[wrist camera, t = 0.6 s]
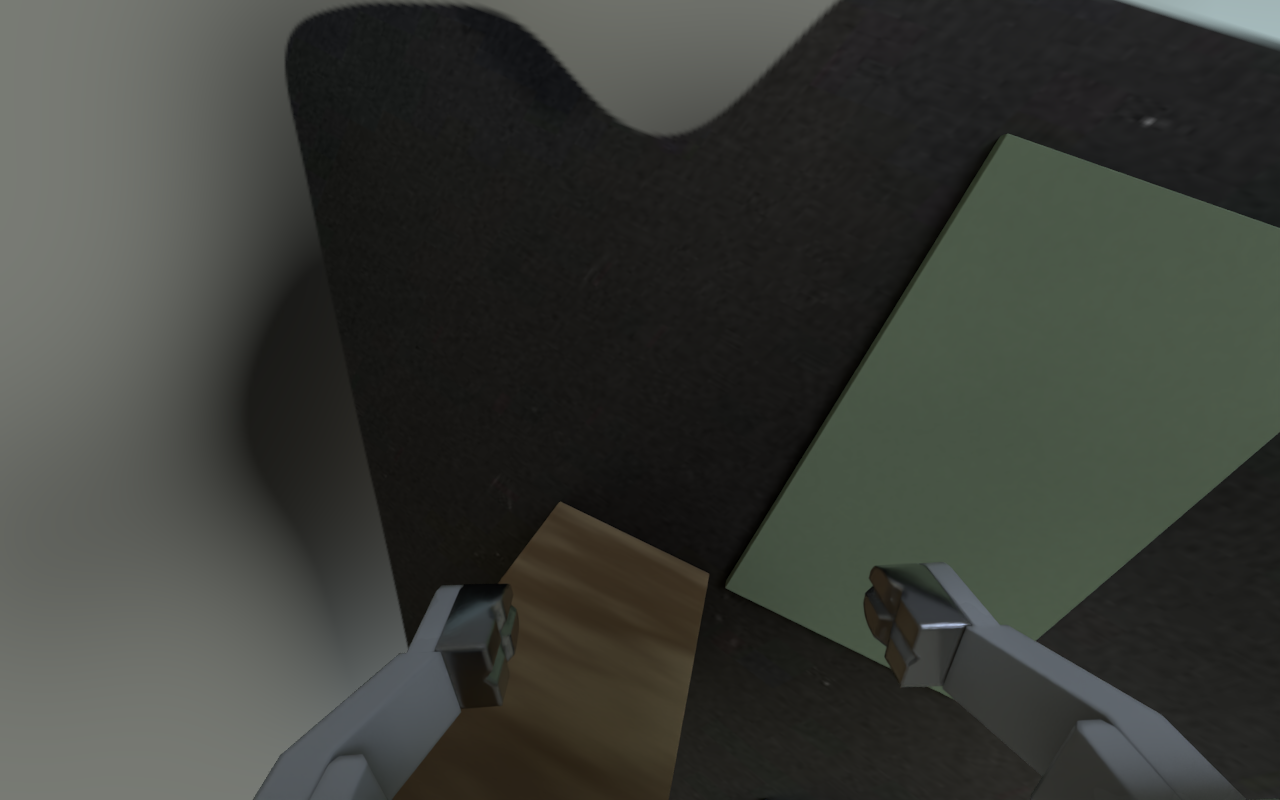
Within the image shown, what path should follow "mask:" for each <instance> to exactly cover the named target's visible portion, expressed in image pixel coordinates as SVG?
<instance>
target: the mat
mask: <svg viewBox="0 0 1280 800" xmlns="http://www.w3.org/2000/svg"><path fill="white" fill-rule="evenodd" d="M1279 432H1280V228H1278V227H1275V226H1272V225H1269V224H1266V223H1263V222H1260V221H1258V220H1255V219H1252V218H1249V217H1246V216H1243V215H1240V214H1237V213H1235V212H1232V211H1229V210H1226V209H1223V208H1220V207H1217V206H1214V205H1212V204H1209V203H1206V202H1203V201H1200V200H1197V199H1194V198H1192V197H1189V196H1186V195H1183V194H1180V193H1177V192H1174V191H1171V190H1169V189H1166V188H1163V187H1160V186H1157V185H1154V184H1151V183H1148V182H1146V181H1143V180H1140V179H1137V178H1134V177H1131V176H1128V175H1125V174H1123V173H1120V172H1117V171H1114V170H1111V169H1108V168H1105V167H1103V166H1100V165H1097V164H1094V163H1091V162H1088V161H1085V160H1082V159H1080V158H1077V157H1074V156H1071V155H1068V154H1065V153H1062V152H1059V151H1057V150H1054V149H1051V148H1048V147H1045V146H1042V145H1039V144H1036V143H1034V142H1031V141H1028V140H1025V139H1022V138H1019V137H1016V136H1014V135H1011V134H1005V135H1002V136H1000V137H999V139H998V140H997V142H996V144H995V145H994V147H993V149H992V150H991V152H990V153H989V155H988V157H987V158H986V160H985V161H984V163H983V165H982V166H981V168H980V170H979V171H978V173H977V174H976V176H975V178H974V179H973V181H972V183H971V184H970V186H969V187H968V189H967V191H966V192H965V194H964V196H963V197H962V199H961V200H960V202H959V204H958V205H957V207H956V209H955V210H954V212H953V213H952V215H951V217H950V218H949V220H948V222H947V223H946V225H945V226H944V228H943V230H942V231H941V233H940V234H939V236H938V238H937V239H936V241H935V243H934V244H933V246H932V247H931V249H930V251H929V252H928V254H927V256H926V257H925V259H924V260H923V262H922V264H921V265H920V267H919V269H918V270H917V272H916V273H915V275H914V277H913V278H912V280H911V282H910V283H909V285H908V286H907V288H906V290H905V291H904V293H903V295H902V296H901V298H900V299H899V301H898V303H897V304H896V306H895V307H894V309H893V311H892V312H891V314H890V316H889V317H888V319H887V320H886V322H885V324H884V325H883V327H882V329H881V330H880V332H879V333H878V335H877V337H876V338H875V340H874V342H873V343H872V345H871V346H870V348H869V350H868V351H867V353H866V355H865V356H864V358H863V359H862V361H861V363H860V364H859V366H858V368H857V369H856V371H855V372H854V374H853V376H852V377H851V379H850V380H849V382H848V384H847V385H846V387H845V389H844V390H843V392H842V393H841V395H840V397H839V398H838V400H837V402H836V403H835V405H834V406H833V408H832V410H831V411H830V413H829V415H828V416H827V418H826V419H825V421H824V423H823V424H822V426H821V428H820V429H819V431H818V432H817V434H816V436H815V437H814V439H813V441H812V442H811V444H810V445H809V447H808V449H807V450H806V452H805V453H804V455H803V457H802V458H801V460H800V462H799V463H798V465H797V466H796V468H795V470H794V471H793V473H792V475H791V476H790V478H789V479H788V481H787V483H786V484H785V486H784V488H783V489H782V491H781V492H780V494H779V496H778V497H777V499H776V501H775V502H774V504H773V505H772V507H771V509H770V510H769V512H768V513H767V515H766V517H765V518H764V520H763V522H762V523H761V525H760V526H759V528H758V530H757V531H756V533H755V535H754V536H753V538H752V539H751V541H750V543H749V544H748V546H747V548H746V549H745V551H744V552H743V554H742V556H741V557H740V559H739V561H738V562H737V564H736V565H735V567H734V569H733V570H732V572H731V574H730V575H729V577H728V578H727V580H726V584H725V588H726V589H728V590H730V591H732V592H734V593H736V594H738V595H740V596H742V597H745V598H747V599H749V600H751V601H753V602H755V603H757V604H759V605H761V606H763V607H765V608H767V609H769V610H771V611H773V612H775V613H777V614H780V615H782V616H784V617H786V618H788V619H790V620H792V621H794V622H796V623H798V624H800V625H802V626H804V627H806V628H808V629H810V630H812V631H814V632H817V633H819V634H821V635H823V636H825V637H827V638H829V639H831V640H833V641H835V642H837V643H839V644H841V645H843V646H845V647H847V648H849V649H851V650H854V651H856V652H858V653H860V654H862V655H864V656H866V657H868V658H870V659H872V660H874V661H876V662H878V663H880V664H882V665H884V666H886V667H889V668H890V666H889V664H888V663H887V661H886V659H885V657H884V655H885V650H886V646H885V645H883V644H882V643H881V642H879V641H878V640H877V639H875V638H874V637H873V635H872V633H871V631H870V629H869V627H868V624H867V621H866V619H865V614H864V607H863V602H864V596H865V592H866V591H868V590H869V589H870V588H871V587H872V586H873V585H872V583H871V581H870V580H869V575H870V571H871V569H872V568H873V567H874V566H877V565H894V564H911V563H918V564H919V563H932V562H944V563H946V564H948V565H949V566H950V567H951V568H952V569H953V570H954V571H955V573H956V574H957V575H958V576H959V577H960V578H961V580H962V581H963V582H964V583H965V584H966V586H967V587H968V588H969V589H970V590H971V591H972V593H973V594H974V595H975V596H976V597H977V599H978V600H979V601H980V602H981V603H982V604H983V606H984V607H985V608H986V609H987V610H988V611H989V613H990V614H991V615H992V616H993V617H994V619H995V620H996V621H997V622H998V623H999V624H1000V625H1008V626H1010V627H1012V628H1014V629H1015V630H1017V631H1019V632H1020V633H1022V634H1024V635H1026V636H1027V637H1029V638H1031V639H1032V640H1034V641H1036V640H1037V639H1038V638H1039V637H1040V636H1042V635H1043V634H1044V633H1045V632H1046V631H1047V630H1049V629H1050V628H1051V627H1052V626H1053V625H1054V624H1056V623H1057V622H1058V621H1059V620H1060V619H1061V618H1063V617H1064V616H1065V615H1066V614H1067V613H1068V612H1070V611H1071V610H1072V609H1073V608H1074V607H1075V606H1077V605H1078V604H1079V603H1080V602H1081V601H1083V600H1084V599H1085V598H1086V597H1087V596H1088V595H1090V594H1091V593H1092V592H1093V591H1094V590H1095V589H1097V588H1098V587H1099V586H1100V585H1101V584H1102V583H1104V582H1105V581H1106V580H1107V579H1108V578H1109V577H1111V576H1112V575H1113V574H1114V573H1115V572H1116V571H1118V570H1119V569H1120V568H1121V567H1122V566H1123V565H1125V564H1126V563H1127V562H1128V561H1129V560H1130V559H1132V558H1133V557H1134V556H1135V555H1136V554H1137V553H1139V552H1140V551H1141V550H1142V549H1143V548H1144V547H1146V546H1147V545H1148V544H1149V543H1150V542H1151V541H1153V540H1154V539H1155V538H1156V537H1157V536H1158V535H1160V534H1161V533H1162V532H1163V531H1164V530H1165V529H1167V528H1168V527H1169V526H1170V525H1171V524H1172V523H1174V522H1175V521H1176V520H1177V519H1178V518H1179V517H1181V516H1182V515H1183V514H1184V513H1185V512H1186V511H1188V510H1189V509H1190V508H1191V507H1192V506H1194V505H1195V504H1196V503H1197V502H1198V501H1199V500H1201V499H1202V498H1203V497H1204V496H1205V495H1206V494H1208V493H1209V492H1210V491H1211V490H1212V489H1213V488H1215V487H1216V486H1217V485H1218V484H1219V483H1220V482H1222V481H1223V480H1224V479H1225V478H1226V477H1227V476H1229V475H1230V474H1231V473H1232V472H1233V471H1234V470H1236V469H1237V468H1238V467H1239V466H1240V465H1241V464H1243V463H1244V462H1245V461H1246V460H1247V459H1248V458H1250V457H1251V456H1252V455H1253V454H1254V453H1255V452H1257V451H1258V450H1259V449H1260V448H1261V447H1262V446H1264V445H1265V444H1266V443H1267V442H1268V441H1269V440H1271V439H1272V438H1273V437H1274V436H1275V435H1276V434H1278V433H1279ZM930 688H932V689H934V690H936V691H938V692H940V693H942V694H944V695H946V696H948V697H950V698H952V697H951V696H950V695H949V694H948V693H947V692H946V691H944V690H943V689H942V688H943V686H933V687H930ZM952 699H954V698H952ZM954 700H955V699H954Z"/></svg>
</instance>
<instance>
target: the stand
mask: <svg viewBox="0 0 1280 800" xmlns="http://www.w3.org/2000/svg"><path fill="white" fill-rule="evenodd" d="M708 579H709V573H707V572H705V571H703V570H701V569H699V568H697V567H694V566H692V565H690V564H688V563H686V562H684V561H682V560H680V559H678V558H676V557H674V556H672V555H670V554H668V553H666V552H664V551H661V550H659V549H657V548H655V547H653V546H651V545H649V544H647V543H645V542H643V541H641V540H639V539H637V538H635V537H633V536H631V535H628V534H626V533H624V532H622V531H620V530H618V529H616V528H614V527H612V526H610V525H608V524H606V523H604V522H602V521H600V520H597V519H595V518H593V517H591V516H589V515H587V514H585V513H583V512H581V511H579V510H577V509H575V508H573V507H571V506H569V505H567V504H564V503H562V502H559V503H558V504H557V506H556V507H555V508H554V510H553V511H552V512H551V514H550V515H549V516H548V518H547V519H546V520H545V522H544V523H543V524H542V526H541V527H540V528H539V530H538V531H537V532H536V534H535V535H534V536H533V538H532V539H531V540H530V541H529V543H528V544H527V545H526V547H525V548H524V549H523V551H522V552H521V553H520V555H519V556H518V557H517V559H516V560H515V561H514V563H513V564H512V565H511V567H510V568H509V569H508V571H507V572H506V573H505V575H504V576H503V577H502V579H501V580H500V581H499V583H498V584H511V587H512V591H513V599H512V603H511V605H512V606H514V607H515V608H516V609H517V612H518V617H519V634H518V643H517V647H516V652H515V655H514V656H513V657H512V658H511V659H510V660H509V661H508V662H507V664H508V668H509V672H510V676H509V680H508V684H507V688H506V692H505V696H504V700H503V704H502V706H494V707H482V708H469V709H461V713H460V714H459V715H458V717H457V718H456V719H455V721H454V722H453V723H452V724H451V726H450V727H449V728H448V729H447V731H446V732H445V733H444V734H443V736H442V737H441V738H440V739H439V741H438V742H437V743H436V744H435V746H434V747H433V748H432V750H431V751H430V752H429V753H428V755H427V756H426V757H425V758H424V760H423V761H422V762H421V763H420V765H419V766H418V767H417V768H416V770H415V771H414V772H413V773H412V775H411V776H410V777H409V779H408V780H407V781H406V782H405V784H404V785H403V786H402V787H401V789H400V790H399V791H398V792H397V794H396V795H395V796H394V797H393V799H392V800H669V795H670V789H671V784H672V778H673V773H674V767H675V762H676V756H677V751H678V745H679V739H680V734H681V728H682V723H683V717H684V712H685V706H686V701H687V695H688V690H689V684H690V679H691V673H692V668H693V662H694V657H695V651H696V645H697V640H698V634H699V629H700V623H701V618H702V612H703V607H704V601H705V596H706V590H707V585H708Z"/></svg>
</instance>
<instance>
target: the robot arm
mask: <svg viewBox="0 0 1280 800" xmlns="http://www.w3.org/2000/svg"><path fill="white" fill-rule="evenodd" d="M869 580H870V581H871V583H872V585H873V586H872V587H871V588H870V589H869V590H868V591H866V592H865V596H864V602H863V607H864V614H865V619H866V621H867V624H868V627H869V629H870V631H871V633H872V635H873V637H874V638H875V639H877V640H878V641H879V642H881V643H882V644H883V645H885V646H886V650H885V655H884V657H885V659H886V661H887V663H888V664H889V666H890V668H891V670H892V672H893V674H894V675H895V677H896V679H897V681H898V683H899V684H900V686H901V687H933V686H943V688H942V689H943V690H944V691H946V692H947V693H948V694H949V695H950V696H951V697H952V698H954V699H955V700H956V701H957V702H958V703H959V704H960V705H962V706H963V707H964V708H965V709H966V710H967V711H968V712H970V713H971V714H972V715H973V716H974V717H975V718H976V719H978V720H979V721H980V722H981V723H982V724H983V725H984V726H986V727H987V728H988V729H989V730H990V731H991V732H992V733H994V734H995V735H996V736H997V737H998V738H999V739H1000V740H1002V741H1003V742H1004V743H1005V744H1006V745H1007V746H1008V747H1010V748H1011V749H1012V750H1013V751H1014V752H1015V753H1016V754H1018V755H1019V756H1020V757H1021V758H1022V759H1023V760H1024V761H1026V762H1027V763H1028V764H1029V765H1030V766H1031V767H1032V768H1034V769H1035V770H1036V771H1037V772H1038V773H1039V774H1040V775H1042V776H1043V777H1042V778H1041V780H1040V781H1039V783H1038V785H1037V786H1036V788H1035V789H1034V791H1033V793H1032V794H1031V798H1030V800H1246V799H1245V798H1244V797H1243V796H1242V795H1241V794H1240V793H1239V792H1238V791H1237V790H1236V789H1235V788H1234V787H1233V786H1232V785H1231V784H1230V783H1229V782H1228V781H1227V780H1226V779H1225V778H1224V777H1223V776H1222V775H1221V774H1220V773H1219V772H1218V771H1217V770H1216V769H1215V768H1214V767H1213V766H1212V765H1211V764H1210V763H1209V762H1208V761H1207V760H1206V759H1205V758H1204V757H1203V756H1202V755H1201V754H1200V753H1199V752H1198V751H1197V750H1196V749H1195V748H1194V747H1193V746H1192V745H1191V744H1190V743H1189V742H1188V741H1187V740H1186V739H1185V738H1184V737H1183V736H1182V735H1181V734H1180V733H1179V732H1178V731H1177V730H1176V729H1175V728H1174V727H1173V726H1172V725H1171V724H1170V723H1169V722H1168V721H1167V720H1166V719H1165V718H1164V717H1163V716H1162V715H1161V714H1159V713H1157V712H1156V711H1154V710H1152V709H1151V708H1149V707H1147V706H1145V705H1144V704H1142V703H1140V702H1139V701H1137V700H1135V699H1133V698H1132V697H1130V696H1128V695H1127V694H1125V693H1123V692H1121V691H1120V690H1118V689H1116V688H1115V687H1113V686H1111V685H1109V684H1108V683H1106V682H1104V681H1103V680H1101V679H1099V678H1098V677H1096V676H1094V675H1092V674H1091V673H1089V672H1087V671H1086V670H1084V669H1082V668H1080V667H1079V666H1077V665H1075V664H1074V663H1072V662H1070V661H1068V660H1067V659H1065V658H1063V657H1062V656H1060V655H1058V654H1056V653H1055V652H1053V651H1051V650H1050V649H1048V648H1046V647H1044V646H1043V645H1041V644H1039V643H1038V642H1036V641H1034V640H1032V639H1031V638H1029V637H1027V636H1026V635H1024V634H1022V633H1020V632H1019V631H1017V630H1015V629H1014V628H1012V627H1010V626H1008V625H1000V624H999V623H998V622H997V621H996V620H995V619H994V617H993V616H992V615H991V614H990V613H989V611H988V610H987V609H986V608H985V607H984V606H983V604H982V603H981V602H980V601H979V600H978V599H977V597H976V596H975V595H974V594H973V593H972V591H971V590H970V589H969V588H968V587H967V586H966V584H965V583H964V582H963V581H962V580H961V578H960V577H959V576H958V575H957V574H956V573H955V571H954V570H953V569H952V568H951V567H950V566H949V565H948V564H946V563H944V562H932V563H919V564H918V563H911V564H894V565H877V566H874V567H873V568H872V569H871V571H870V575H869ZM512 599H513V591H512V587H511V584H464V585H442V586H441V587H440V588H439V589H438V590H437V591H436V593H435V595H434V597H433V599H432V601H431V603H430V605H429V607H428V609H427V611H426V613H425V616H424V618H423V620H422V622H421V624H420V626H419V628H418V630H417V632H416V634H415V636H414V638H413V641H412V643H411V645H410V647H409V649H408V651H407V653H400V654H398V655H397V656H396V657H395V658H394V659H393V660H391V661H390V662H389V663H388V664H387V665H385V666H384V667H383V668H382V669H381V670H380V671H379V672H377V673H376V674H375V675H374V676H373V677H371V678H370V679H369V680H368V681H367V682H366V683H364V684H363V685H362V686H361V687H360V688H358V690H356V691H355V692H354V693H353V694H352V695H350V696H349V697H348V698H347V699H346V700H344V701H343V702H342V703H341V704H340V705H339V706H337V707H336V708H335V709H334V710H333V711H332V712H330V713H329V714H328V715H327V716H326V717H325V718H323V719H322V720H321V721H320V722H319V723H318V724H316V725H315V726H314V727H313V728H312V729H311V730H309V731H308V732H307V733H306V734H305V735H303V736H302V737H301V738H300V739H299V740H298V741H296V743H294V744H293V745H292V746H291V747H289V748H288V749H287V750H286V751H285V752H284V753H282V754H281V755H280V756H279V758H278V760H277V761H276V763H275V764H274V766H273V768H272V769H271V771H270V773H269V774H268V776H267V777H266V779H265V781H264V782H263V784H262V786H261V787H260V789H259V791H258V792H257V794H256V795H255V797H254V799H253V800H392V799H393V797H394V796H395V795H396V794H397V792H398V791H399V790H400V789H401V787H402V786H403V785H404V784H405V782H406V781H407V780H408V779H409V777H410V776H411V775H412V773H413V772H414V771H415V770H416V768H417V767H418V766H419V765H420V763H421V762H422V761H423V760H424V758H425V757H426V756H427V755H428V753H429V752H430V751H431V750H432V748H433V747H434V746H435V744H436V743H437V742H438V741H439V739H440V738H441V737H442V736H443V734H444V733H445V732H446V731H447V729H448V728H449V727H450V726H451V724H452V723H453V722H454V721H455V719H456V718H457V717H458V715H459V714H460V713H461V709H469V708H482V707H494V706H502V704H503V700H504V696H505V692H506V688H507V684H508V680H509V676H510V672H509V668H508V664H507V662H508V661H509V660H510V659H511V658H512V657H513V656H514V655H515V652H516V647H517V643H518V634H519V617H518V612H517V609H516V608H515V607H514V606H512V605H511V603H512ZM1255 800H1280V798H1276V799H1255Z"/></svg>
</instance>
